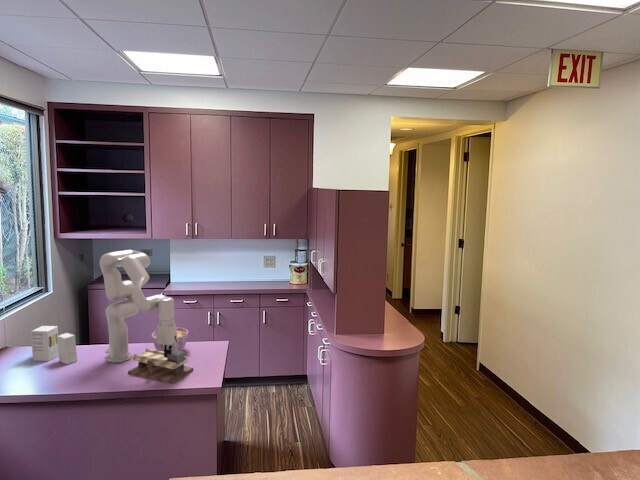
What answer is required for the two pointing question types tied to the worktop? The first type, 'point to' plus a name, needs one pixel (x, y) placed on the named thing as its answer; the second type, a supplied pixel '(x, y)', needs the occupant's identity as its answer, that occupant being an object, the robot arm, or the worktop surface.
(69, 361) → the skincare box
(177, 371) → the stand
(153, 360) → the cream curved piece
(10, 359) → the worktop surface
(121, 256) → the robot arm
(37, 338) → the supplement box
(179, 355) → the block
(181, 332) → the bowl of food
